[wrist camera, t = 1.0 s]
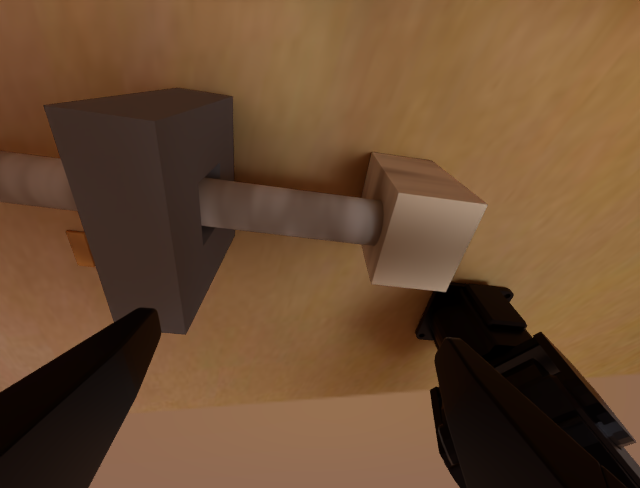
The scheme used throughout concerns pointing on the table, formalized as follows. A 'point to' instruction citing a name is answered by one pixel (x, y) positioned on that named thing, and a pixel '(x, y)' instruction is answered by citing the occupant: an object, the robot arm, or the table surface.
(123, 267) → the square block with hole
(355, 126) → the table surface
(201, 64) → the table surface
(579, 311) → the table surface
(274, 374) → the table surface
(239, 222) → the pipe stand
